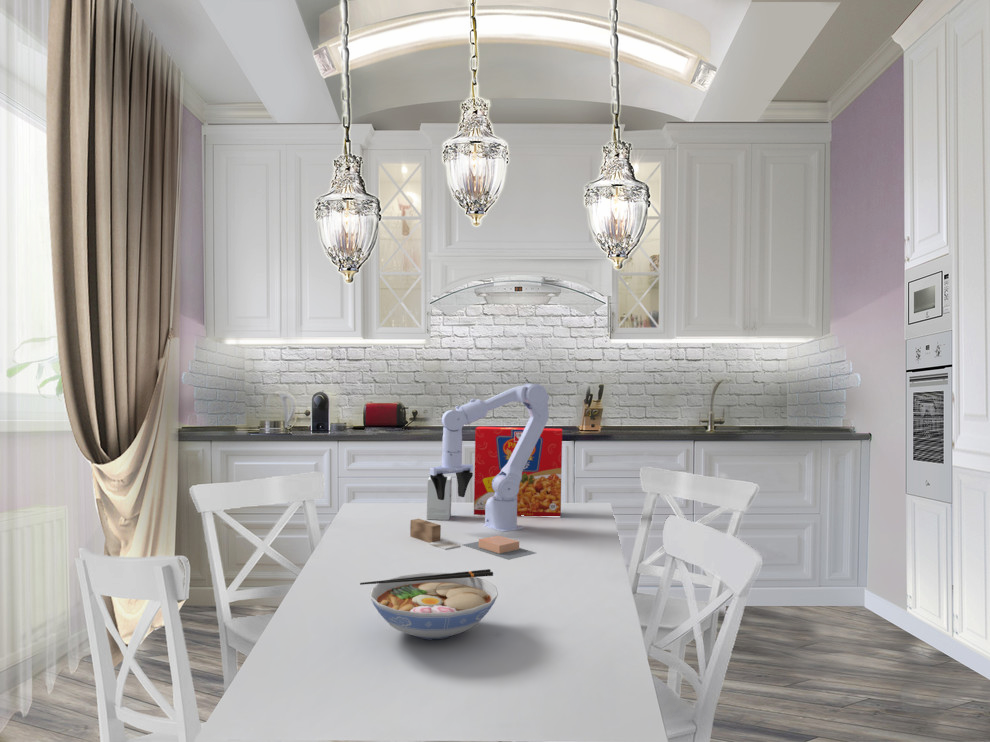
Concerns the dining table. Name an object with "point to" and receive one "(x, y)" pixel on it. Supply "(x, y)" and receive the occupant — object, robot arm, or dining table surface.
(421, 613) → the ramen bowl
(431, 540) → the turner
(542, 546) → the dining table surface
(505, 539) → the tile
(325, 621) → the dining table surface
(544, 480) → the pasta box
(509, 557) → the mat
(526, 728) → the dining table surface
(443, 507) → the supplement box
